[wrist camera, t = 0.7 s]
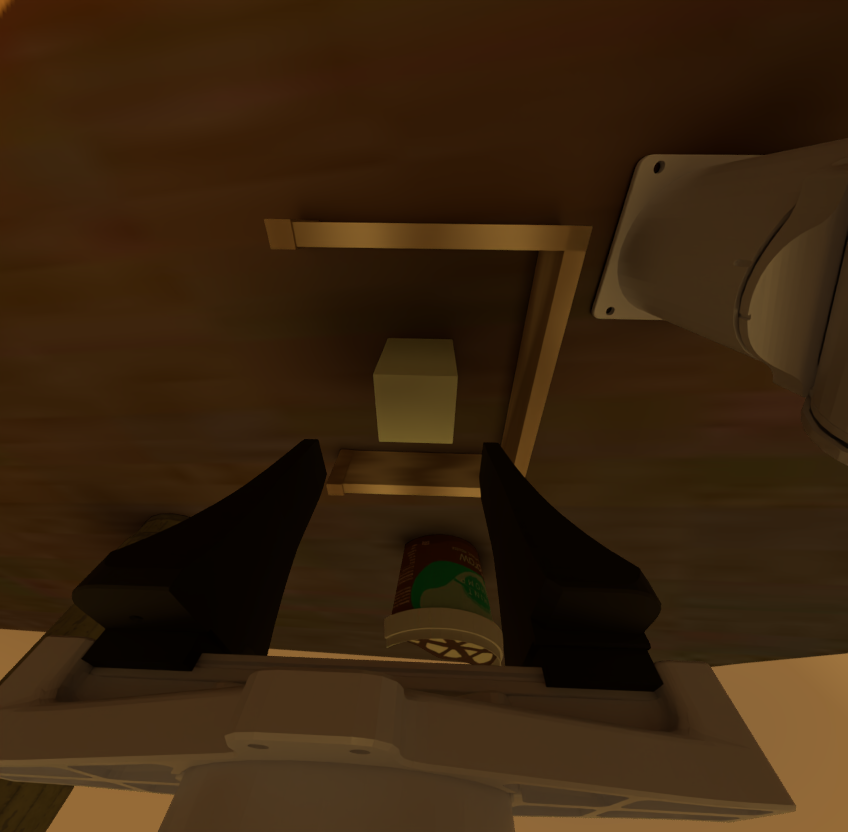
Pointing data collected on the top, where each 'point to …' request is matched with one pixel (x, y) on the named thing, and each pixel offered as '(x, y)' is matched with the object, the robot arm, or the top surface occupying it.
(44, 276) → the top surface
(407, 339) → the sage block
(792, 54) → the top surface
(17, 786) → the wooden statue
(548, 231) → the open crate
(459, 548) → the food container
